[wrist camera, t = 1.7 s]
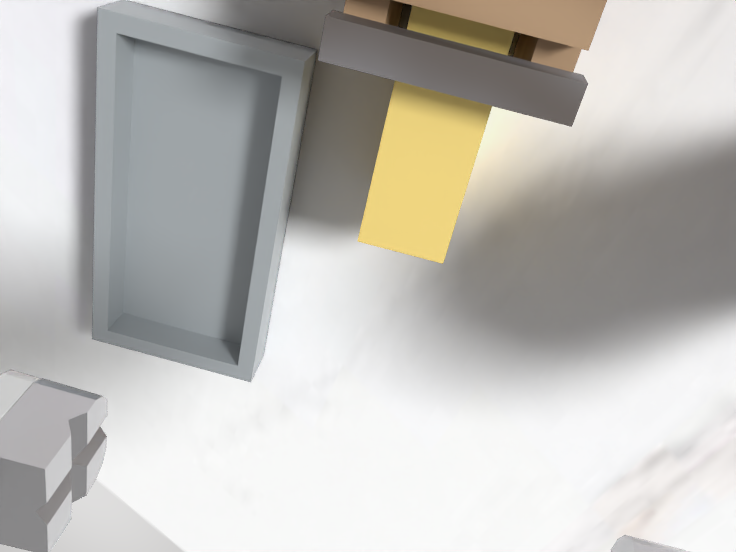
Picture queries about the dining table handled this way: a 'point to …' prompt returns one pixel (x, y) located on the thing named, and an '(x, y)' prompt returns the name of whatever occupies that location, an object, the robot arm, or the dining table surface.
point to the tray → (192, 183)
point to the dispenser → (473, 51)
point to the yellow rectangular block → (427, 151)
